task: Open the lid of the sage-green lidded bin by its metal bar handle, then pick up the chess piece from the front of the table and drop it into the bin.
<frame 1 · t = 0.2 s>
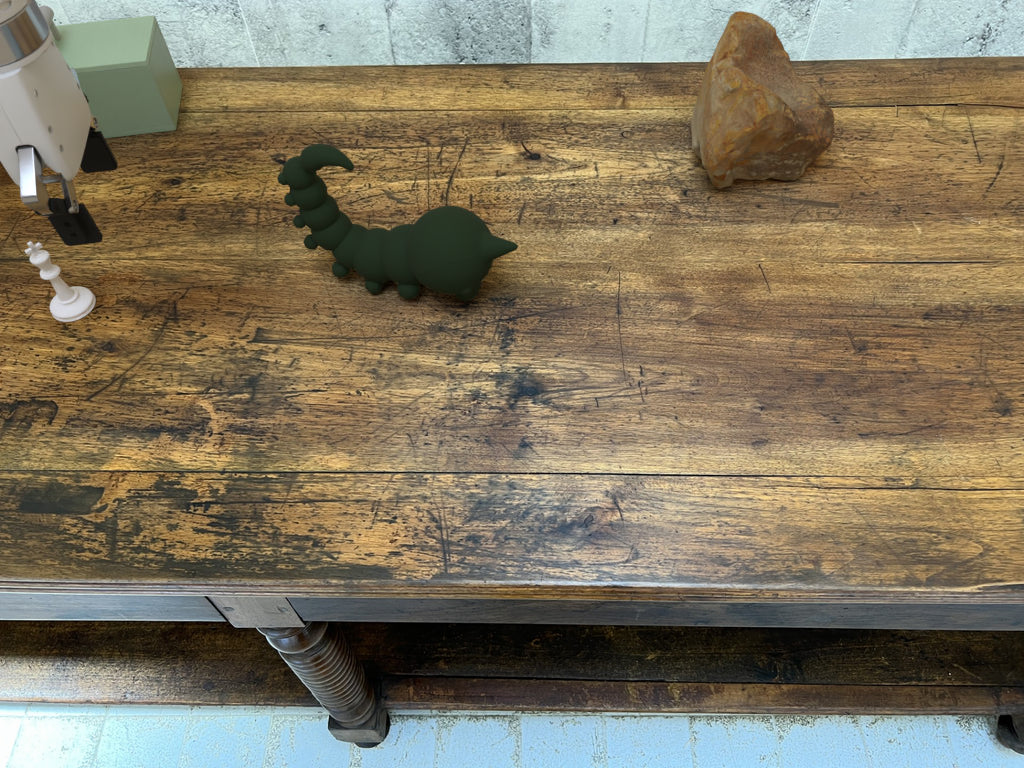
hand: (93, 204, 75), 20 cm above the table, tool pointing down, fingers open, 9 cm apart
bin lid: (88, 30, 105), point 12 cm above the table, hinge at 0.0°
chess piece: (74, 306, 94), on the table
rough brown rock: (752, 159, 106), on the table
toy figurine: (413, 282, 95), on the table
bin: (130, 112, 115), on the table
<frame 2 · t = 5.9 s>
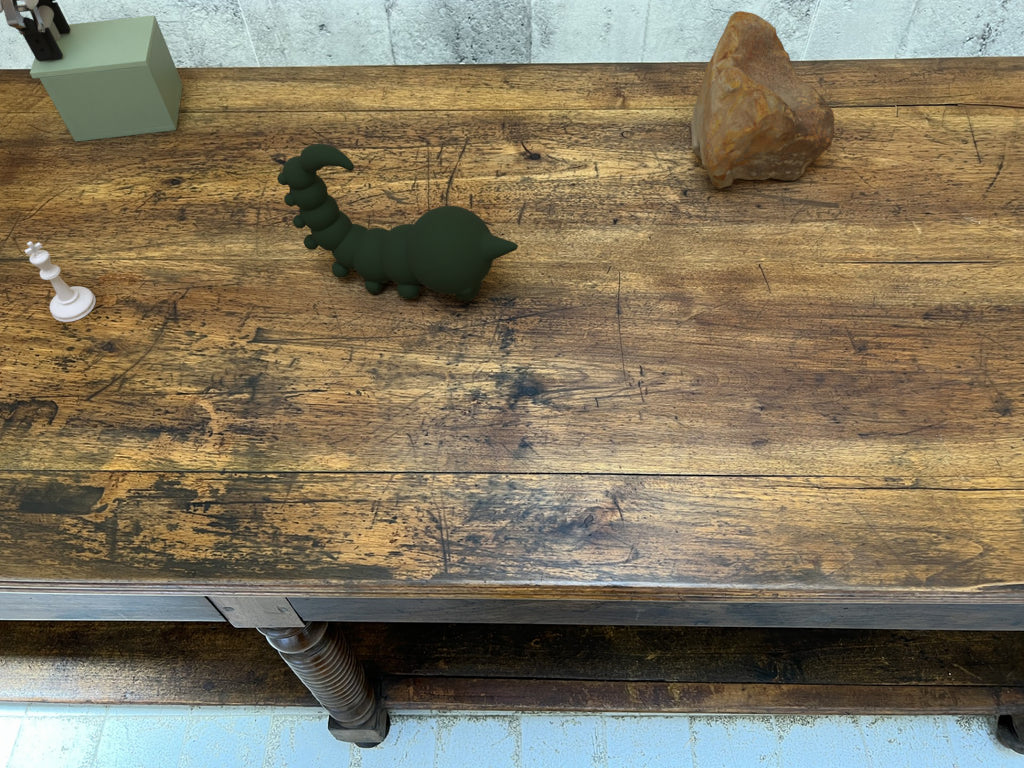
hand: (54, 44, 106), 11 cm above the table, tool pointing down, fingers closed on bin lid, 5 cm apart
bin lid: (88, 30, 105), point 12 cm above the table, hinge at 0.0°, touching gripper
everything else where it was.
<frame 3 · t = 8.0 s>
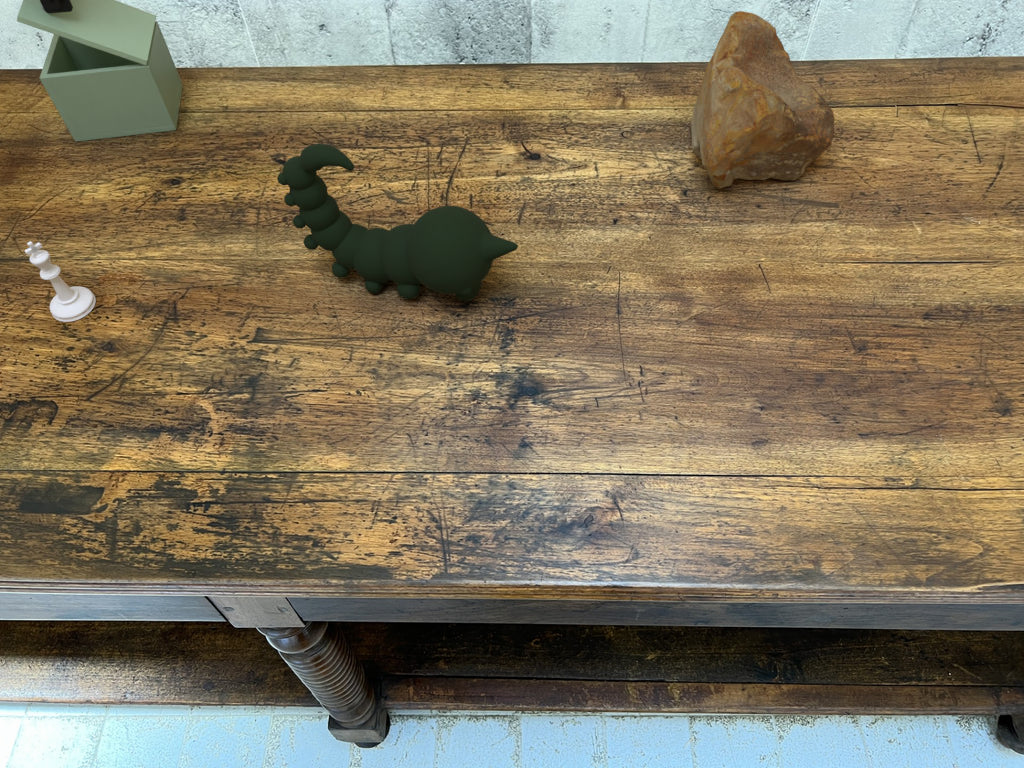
bin lid: (93, 3, 102), point 16 cm above the table, hinge at 31.1°, touching gripper
everything else where it was.
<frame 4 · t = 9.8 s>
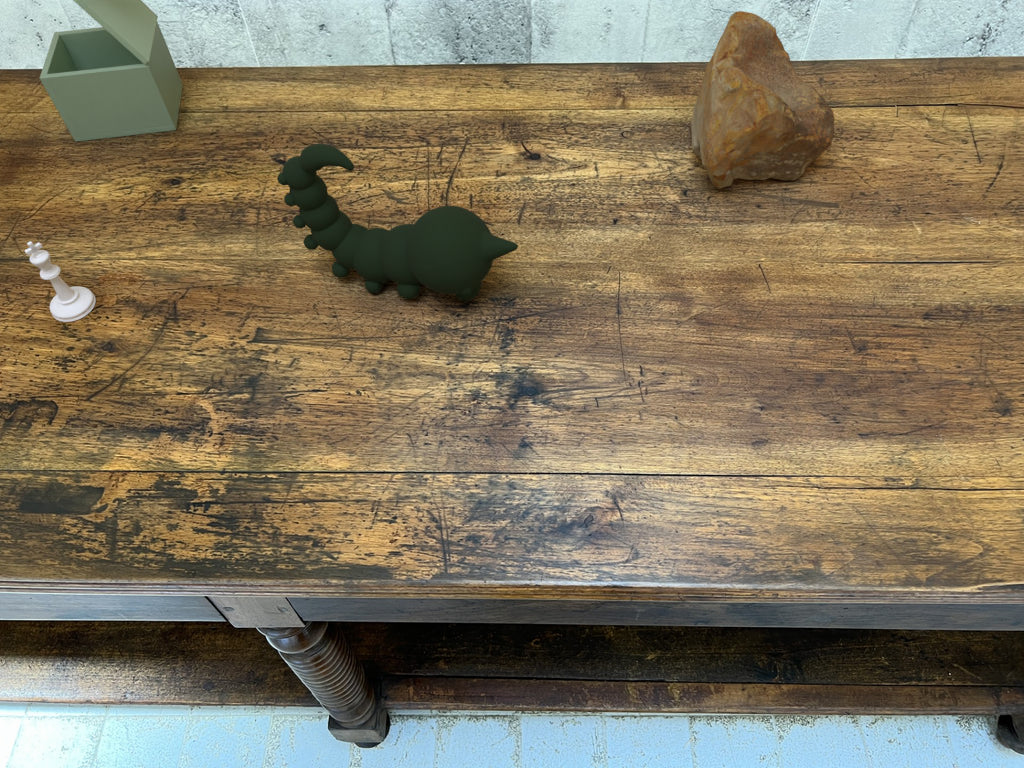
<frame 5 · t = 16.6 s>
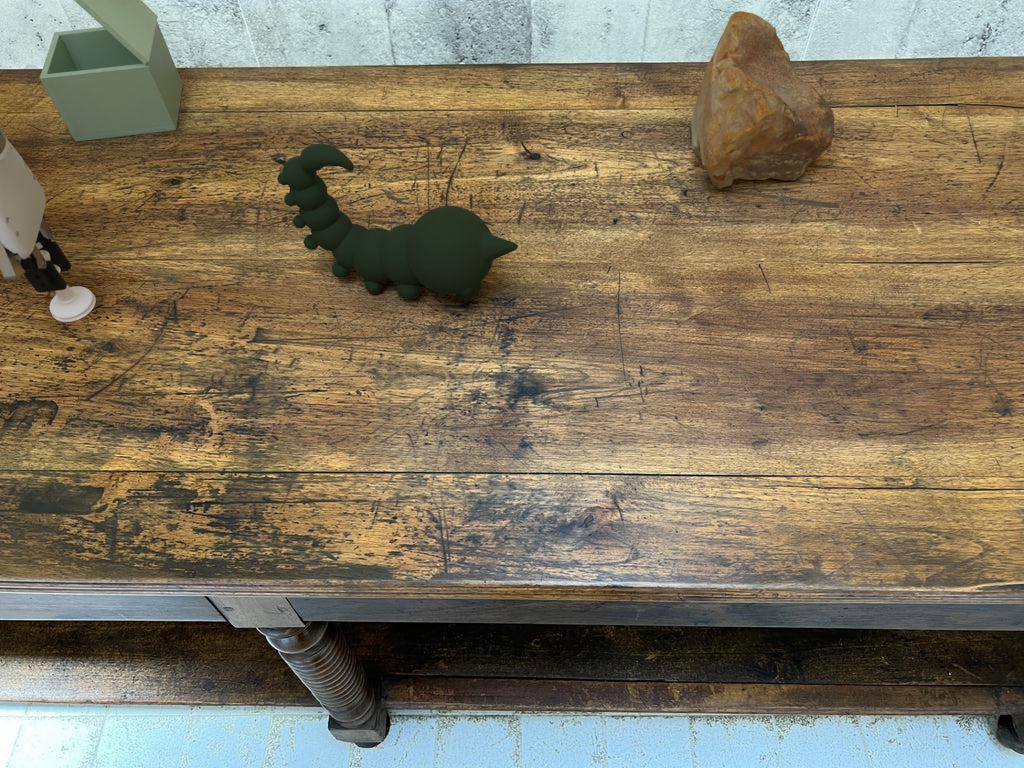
hand: (54, 278, 90), 5 cm above the table, tool pointing down, fingers closed on chess piece
chess piece: (74, 306, 94), on the table, touching gripper
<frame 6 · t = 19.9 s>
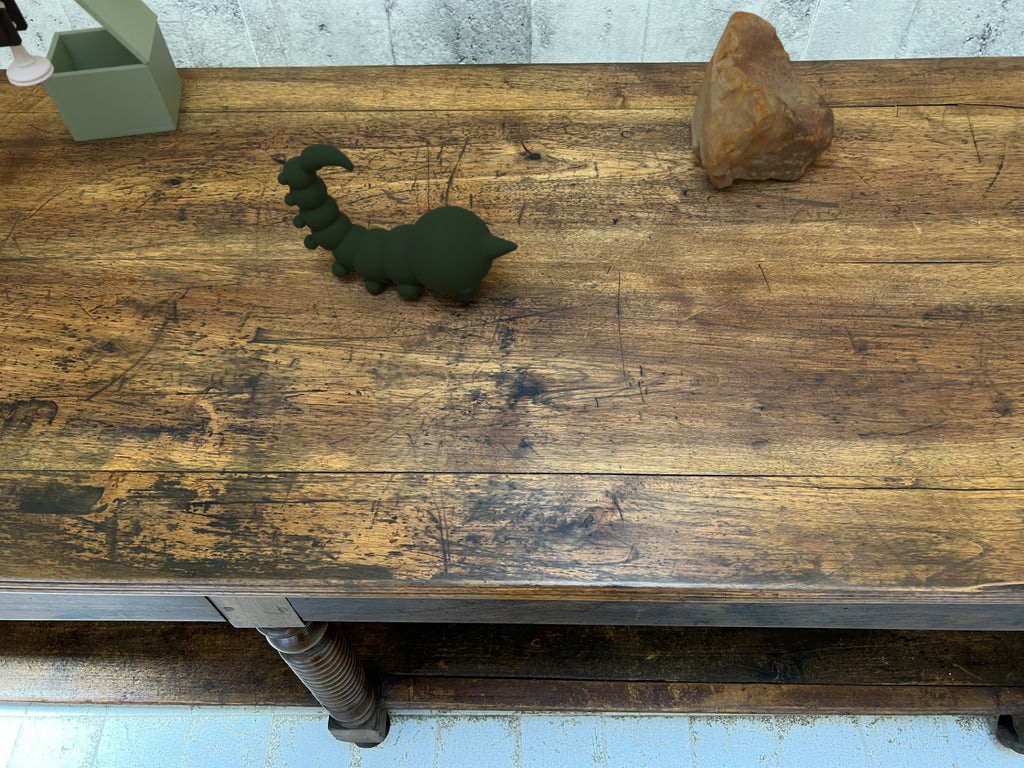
hand: (10, 36, 89), 21 cm above the table, tool pointing down, fingers closed on chess piece
chess piece: (32, 75, 93), point 16 cm above the table, touching gripper
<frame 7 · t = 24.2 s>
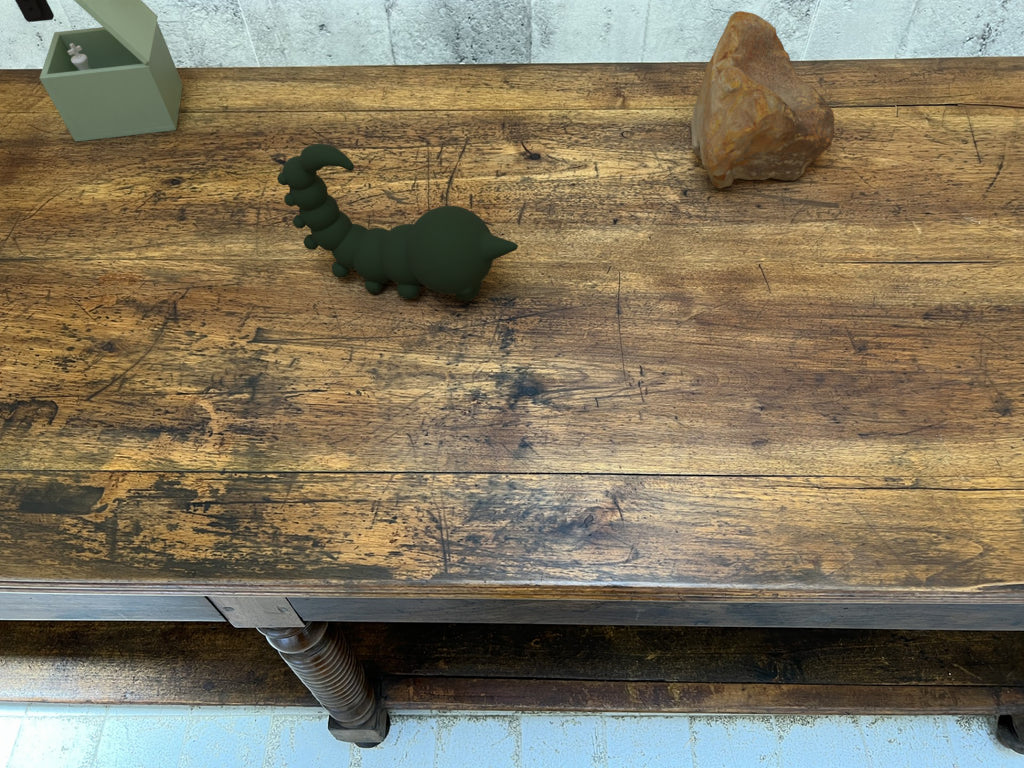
chess piece: (105, 111, 114), point 1 cm above the table, touching bin
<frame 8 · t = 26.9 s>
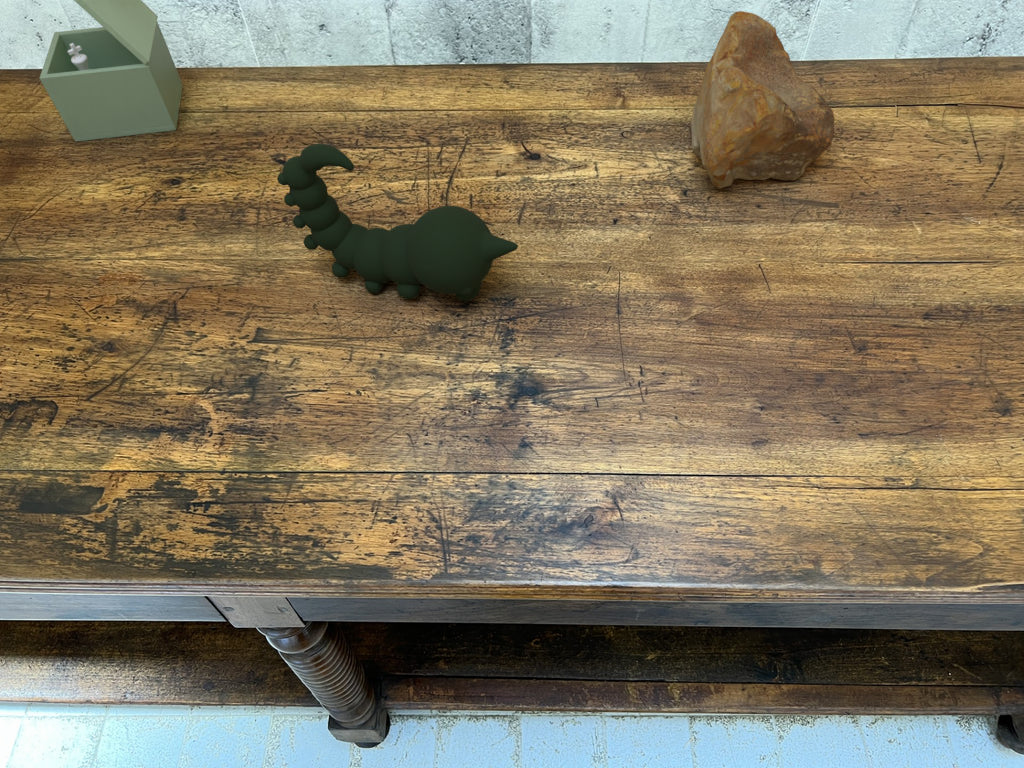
at the end: bin lid at +62° (first picture: +0°); chess piece inside the target area in the bin (3.2 cm from its centre), point 0.6 cm above the bin's base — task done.
